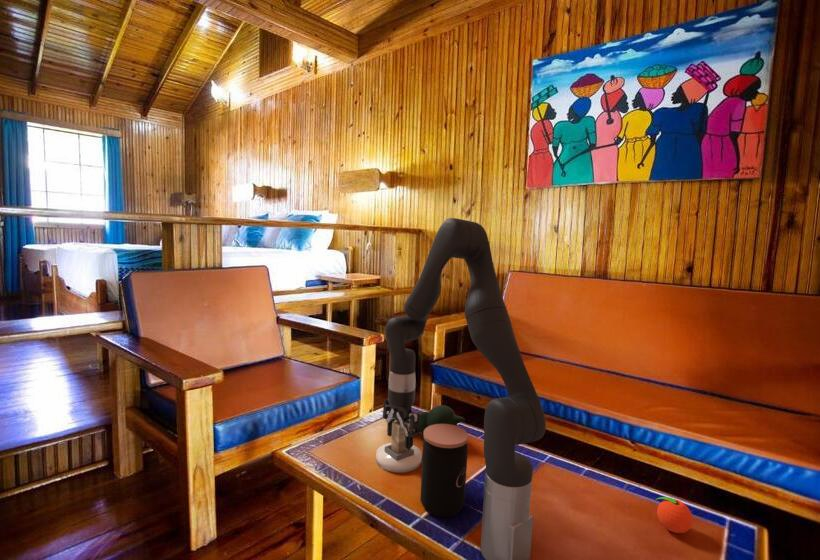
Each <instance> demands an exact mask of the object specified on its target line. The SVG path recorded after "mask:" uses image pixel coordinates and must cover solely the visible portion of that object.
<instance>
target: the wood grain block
mask: <svg viewBox="0 0 820 560" xmlns="http://www.w3.org/2000/svg"><path fill="white" fill-rule="evenodd" d="M405 424H408V423H405ZM407 428H408V431H410V430H409V427H407ZM405 435H406V434H405V431H404V429H403V428H402V427H401V424H400V423H399V422H398V421H396V420H395V421H394V422H392V436H391V442H390V443H391V450H392V451H393V452H395V453H396V454H397V455H398V454H400V453H403V452H406V451H408V449H407V448H405Z"/></svg>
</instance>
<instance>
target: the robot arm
mask: <svg viewBox="0 0 820 560" xmlns="http://www.w3.org/2000/svg"><path fill="white" fill-rule="evenodd" d="M451 259H461V260H464V261H465V264H466V266H467V269H468V274H469V279H470V285H469V290H468V293H467V296H466V300H465V306H464V317H465V321H466V325H467V328H468V332H469V335H470V339H471V341H472V343H473V344H474V346H475V347H476V349H477V350H478V351H479V352H480V353H481V355H482V356H483V357H484V358H485V359H486V360H487V361H488V362H489V363H490V364H491V366H492V367H493V368H494V369H495V370H496V371H497V372H498V374H499V376H500V377H501V379H502V381H503V383H504V386H505V389H506V391H507V395H508V396H505V397H499V398H494V399H492V400H490V401H489V402H488V403H487V405H486V407H485V411H484V415H483V416H484V417H483V455H484V456H483V457H484V463H485V474H484V488H483V500H482V501H483V502H482V503H483V505H482V518H481V535H480V552H481V555H482V557H483V558H484V559H485V560H531V550H532V541H533V539H532V538H533V527H534V516H533V515H532V514H531V513H530V506H531V498H532V497H531V495H532V482H533V474H534V473H533V472H534V470H533V468H534V467H533V464H532V462H531V461H530V460H529V459H528V457H526V456H525V455H522V454H521V453H519V452H517V451H516V446H519V445H524V444H528V443H533V442H536V441H539V440H541V439H542V438H543V437H544V435H545V433H546V428H547V424H546V423H547V422H546V416H545V411H544V409H543V406H542V403H541V401H540V398H539V396H538V394H537V391H536V388H535V386H534V384H533V382H532V379H531V376H530V375H529V373H528V370H527V368H526V364H525V362H524V359H523V357H522V354H521V351H520V348H519V345H518V342H517V339H516V336H515V333H514V328H513V324H512V322H511V318H510V315H509V312H508V308H507V305H506V303H505V301H504V298H503V295H502V291H501V288H500V284H499V282H498V281H499V280H498V277H497V274H496V270H495V265H494V261H493V255H492V251H491V246H490V241H489V237H488V234H487V231H486V230H485V228H484V227H483V226H482V224H480V223H478V222H476V221H471V220H467V219H466V220H465V219H461V218H456V217H451V218H448V219H445V221H443V222H442V224H441V225H440V227H439V228H438V230H437V232H436V234H435V236H434V238H433V242H432V243H431V247H430V250H429V252H428V255H427V257H426V260H425V262H424V265H423V268H422V271H421V273H420V276H419V277H418V279H417V280H418V281H416V284H415V286H414V287H413V289H412V290H411V291H410V293H409V296H408V297H407V299H406V301H405V302H404V305H403V310H404V313H405V314H406V315H403V316H394V317H392V318H390V319H389V320H388V321H387V323H386V325H385V330H384V332H385V333H384V335H385V339H386V343H387V347H388V352H389V356H390V360H389V361H390V362H389V364H390V365H389V375H388V388H387V389H388V390H387V392H388V393H387V396H388V397H387V398H386V399H384V400H383V408H382V409H383V410H382V418H383V420H385V422H386V423H387V425H386V428H387V429H386V431H387V432H386V433H387V436H388V437H392V422H395V421H398V422H399V423H400V424H401V427H402V428H403V429H404V431H405V434H406V435H405V448H407V449H408V448H411V447H412V446H413V445H414V437H415V436H418V435H420V433H419V414H418V413H419V412H414V413H416V414H414V413H412V412H413V411H412V410H413V409H412V407H413V405H414V403H415V402H416V401H415V400H416V399H415V397H416V387H415V382H416V357H417V356H416V353H415V351H414V350H413V349H411V348H406V346H405V343H406V342H411V341H416V340H417V339H419V338H420V337H421V336H422V335H423V333H424V331H425V328H426V325H427V322H428V321H427V320H428V316H429V315H430V313H431V312H432V310H433V309H434V307H435V306H436V304H437V302H438V301H439V299H440V297H441V293H442V292H441V291H442V272H443V270H444V268H445V267H446V265H447V263H448V262H449V261H450V260H451ZM408 420H409V423H408V424H405V423H406V422H407V421H408ZM407 427H410V430H409V431H408V428H407ZM414 428H415V430H414Z"/></svg>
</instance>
